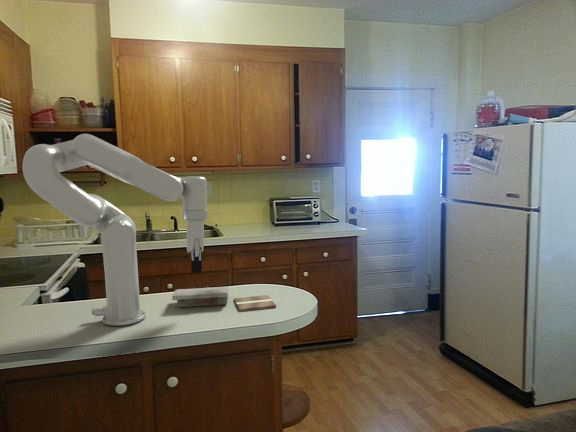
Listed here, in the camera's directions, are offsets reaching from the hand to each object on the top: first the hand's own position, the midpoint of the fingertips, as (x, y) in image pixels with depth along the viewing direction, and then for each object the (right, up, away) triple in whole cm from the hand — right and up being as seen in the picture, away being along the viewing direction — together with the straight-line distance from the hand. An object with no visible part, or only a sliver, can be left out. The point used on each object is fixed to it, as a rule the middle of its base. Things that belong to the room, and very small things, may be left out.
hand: (196, 272), depth 142 cm
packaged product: (+1, -10, +2) cm, 10 cm away
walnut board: (+18, -12, +6) cm, 22 cm away
